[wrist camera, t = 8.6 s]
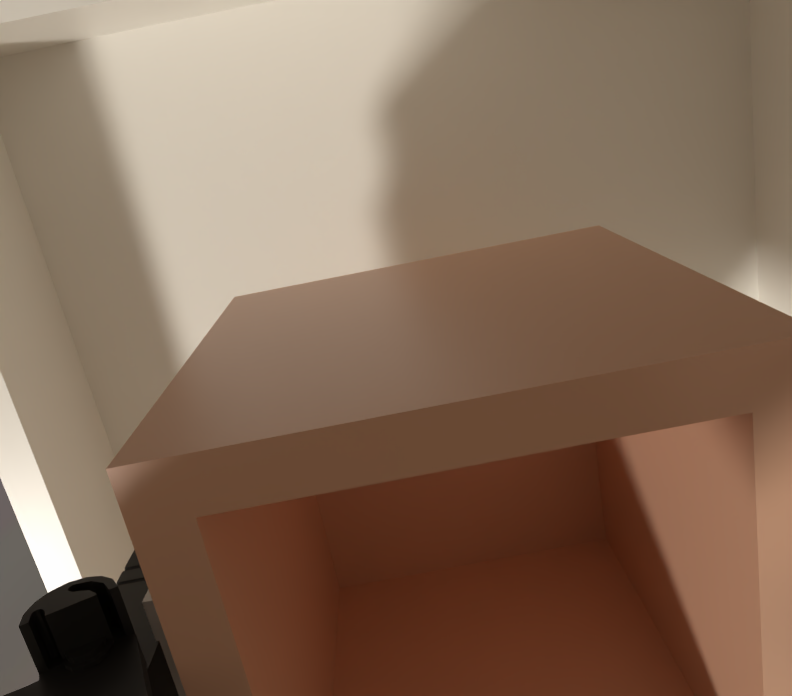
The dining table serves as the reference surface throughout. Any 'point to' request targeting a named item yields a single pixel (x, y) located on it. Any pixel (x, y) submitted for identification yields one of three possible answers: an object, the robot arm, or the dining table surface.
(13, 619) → the dining table surface
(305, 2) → the cream square tray
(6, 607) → the dining table surface
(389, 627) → the small crate
